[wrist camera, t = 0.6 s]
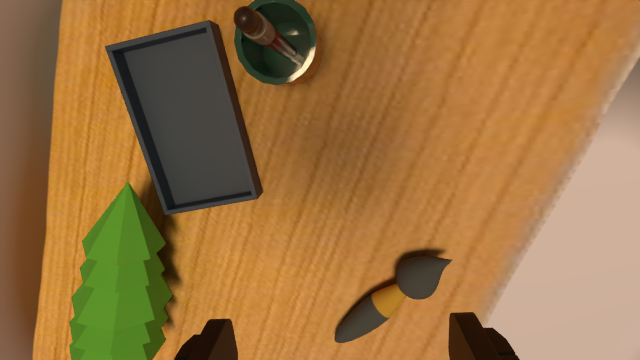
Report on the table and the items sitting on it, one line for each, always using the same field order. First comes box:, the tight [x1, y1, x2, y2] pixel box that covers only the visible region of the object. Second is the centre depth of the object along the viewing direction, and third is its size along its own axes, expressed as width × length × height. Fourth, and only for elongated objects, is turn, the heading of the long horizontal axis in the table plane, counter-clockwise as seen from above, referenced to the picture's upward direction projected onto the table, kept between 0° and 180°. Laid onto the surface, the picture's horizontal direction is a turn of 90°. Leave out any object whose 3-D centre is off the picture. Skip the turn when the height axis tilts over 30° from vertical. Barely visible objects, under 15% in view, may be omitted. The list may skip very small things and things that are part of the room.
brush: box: [234, 6, 296, 59], centre depth 27 cm, size 2×2×18 cm
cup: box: [234, 0, 323, 86], centre depth 32 cm, size 7×7×9 cm
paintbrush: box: [335, 256, 452, 343], centre depth 42 cm, size 20×5×5 cm, turn 143°
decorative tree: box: [70, 182, 173, 360], centre depth 40 cm, size 11×12×30 cm
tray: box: [105, 20, 262, 215], centre depth 38 cm, size 20×12×3 cm, turn 12°
